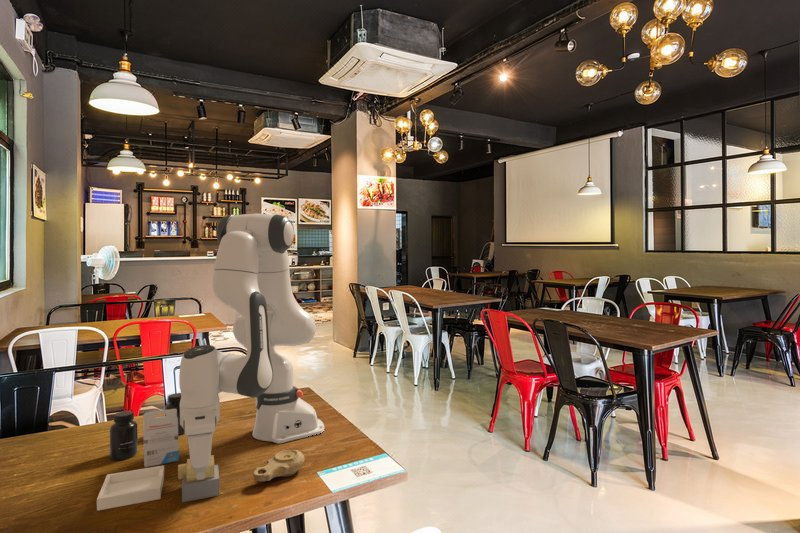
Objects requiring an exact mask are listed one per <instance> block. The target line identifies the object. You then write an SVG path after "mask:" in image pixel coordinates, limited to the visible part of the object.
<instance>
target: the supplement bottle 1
mask: <svg viewBox="0 0 800 533" xmlns="http://www.w3.org/2000/svg"><path fill="white" fill-rule="evenodd" d="M134 419H135V413H134V411H131V410H125V411H124V410H123V411H119V412H117V413H114V415H113V423H112V424H111V425H110V427H109V458H110V459H112V460H114V461H122V460H127V459H130V458H133V457H135V456H136V455H137V453H138V450H139V449H138V448H139V447H138V444H139V442H138V439H139V438H138V433H139V432H138V430H139V429H138V427H139V426H138V425H139V424H138V423H137V421H136V420H134Z"/></svg>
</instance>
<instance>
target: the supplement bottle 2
mask: <svg viewBox="0 0 800 533" xmlns="http://www.w3.org/2000/svg"><path fill="white" fill-rule="evenodd" d="M167 398H168V399H167V404H166V405H165V406H164V410H169V409H177V418H178V436H181V435H185V433H184V429H183V427H182V426H181V425H180V400H181V392H176V393H171V394H169V395H168V397H167ZM164 416H166V414H164Z"/></svg>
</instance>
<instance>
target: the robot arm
mask: <svg viewBox="0 0 800 533" xmlns="http://www.w3.org/2000/svg"><path fill="white" fill-rule="evenodd" d="M215 236H216V241H217V242H218V244H219V246H218V249H217V253H216V257H215V261H214V262H215V263H214V268H213V269H214V270H213V276H212V289H213V294H215V296H216V298H217V299H218V300H219V301H220V302H221V303H223V304H224V305H225V306H227V307H228V308H230V309H232V310H234V311H236V312H237V313H238V314H239V315H237V317H236V319H235V320H234V323H233V327H232V332H233V337H234V338H235V340H236V341H237V342H238V343H239V344H240V345H242V346H243V347H244V348H245V349H246V355H245V354H244V355H243V354H234V353H227V352H223V351H220V350H218V349H216V346H213V345H210V344H201V345H198V346H197V345H196V346H193V347H191V348H188V349H187V350H185V351H184V352H183V353H182V356H181V360H180V363H179V364H180V365H179V372H178V374H179V376H178V378H179V381H178V382H179V383H178V384H179V386H178V387H179V389H180V393H181V400H180V425H181V426H182V427H183V429H184V433H185V434H184V435H185V436H186V438H187V443H188V454H189V459H190V462H191V467H192V469H193V470H196V473H197V480H201V479H204V478H205V468H207V467H208V466H209V464H210V457H211V455H212V446H213V445H212V444H213V435H214V432H216V429H217V428H216V426H217V424H218V422H220V419H221V415H220V414H221V413H220V412H221V411H220V410H221V409H220V408H221V406H220V393H222V392H223V393H227V394H234V395H240V396H243V397H247V398H251V399H254V400H255V408H256V412H255V413H256V415H255V420H254V427H253V430H252V434H251V435H252V438H254V439H256V440H258V441H264V442H272V443H275V444H283V443H288V442H291V441H297V440H300V439H305V438H307V437H308V436H309V437H312V435H313V436H316V434H317V435H321V434H323V433H324V432H325V430H324V429H325V428H326V427H325V423H324V422H323V421H322V420H321V419H319V418H318V415H317V412H316V409H315V408H314V407H313V406H312V405H311V404H310V403H308V402H306V401H305V400H303V399H302V397H303V396H304V393H303V391H302V390H300V389H299V388H298V387H297V386H294V366H293V364H292V362H291V360H290V359H289V358H287V357H285V356H283V355H281V354H280V353H279V352H278V351H277V350H276V346H277V347H278V346H279V347H282V346H283V347H287V346H288V347H291V346H295V347H296V346H300V345H305V344H309V343H311V341H312V340H313V339H314V336H315V335H316V331H317V326H316V325H317V324H316V321H315V319H314V317H313V316H312V315H311V314H310V313H309V312H307V311H306V310H305V309H304V308H303V307H301V305H300V304H299V303H298V301H297V300H296V298H295V296H294V294H293V290H292V282H291V274H290V259H289V253H288V250H289V248H291V247H292V245H293V242H294V238H295V228H294V224H293V222H292V220H291V219H290V218H289V217H288V216H286V215H281V214H276V213H275V214H268V213H259V212H258V213H257V212H256V213H248V214H247V213H246V214H245V213H243V214H229V215H226V216H223V217H222V218H221V219H220V220H219V222H218V223H217V225H216V230H215ZM267 305H269V306H270V307H271V308H272V310H268V306H267ZM323 431H324V432H323ZM322 432H323V433H322ZM320 433H321V434H320Z"/></svg>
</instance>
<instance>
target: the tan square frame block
mask: <svg viewBox="0 0 800 533" xmlns="http://www.w3.org/2000/svg"><path fill="white" fill-rule="evenodd" d="M214 465H215V455H214V454H211V457H210V464H209V466H208V467H207V468H205V478H204V479H209V478H214ZM184 478H187V482H192V481H198V480H197V473H196V470H193V469H192V467H191V462H190V458H187V459H186V463H181V464H178V465H177V479H178V480H181V479H184ZM204 479H201V480H204Z"/></svg>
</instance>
